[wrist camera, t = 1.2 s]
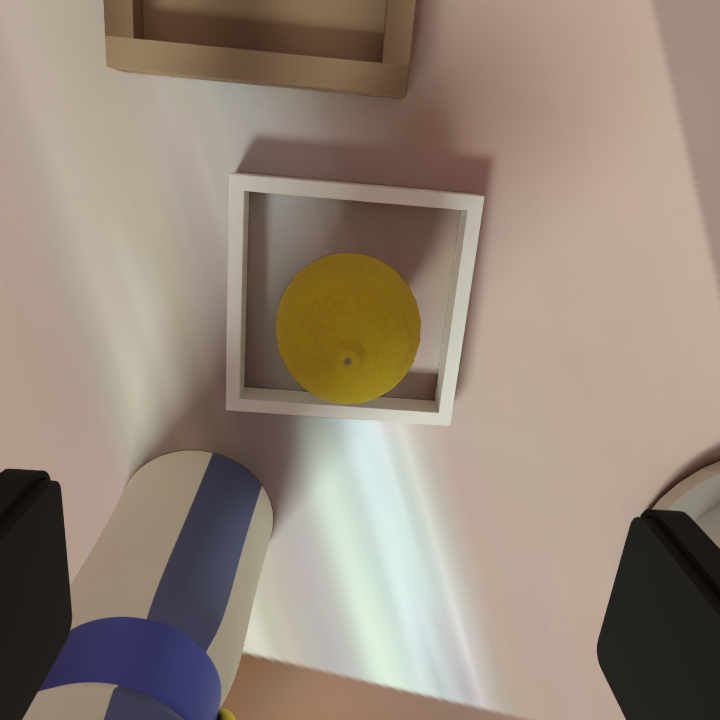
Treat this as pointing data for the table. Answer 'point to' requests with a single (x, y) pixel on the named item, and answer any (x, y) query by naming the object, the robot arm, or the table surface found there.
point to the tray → (267, 42)
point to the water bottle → (164, 597)
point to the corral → (305, 401)
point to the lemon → (348, 328)
